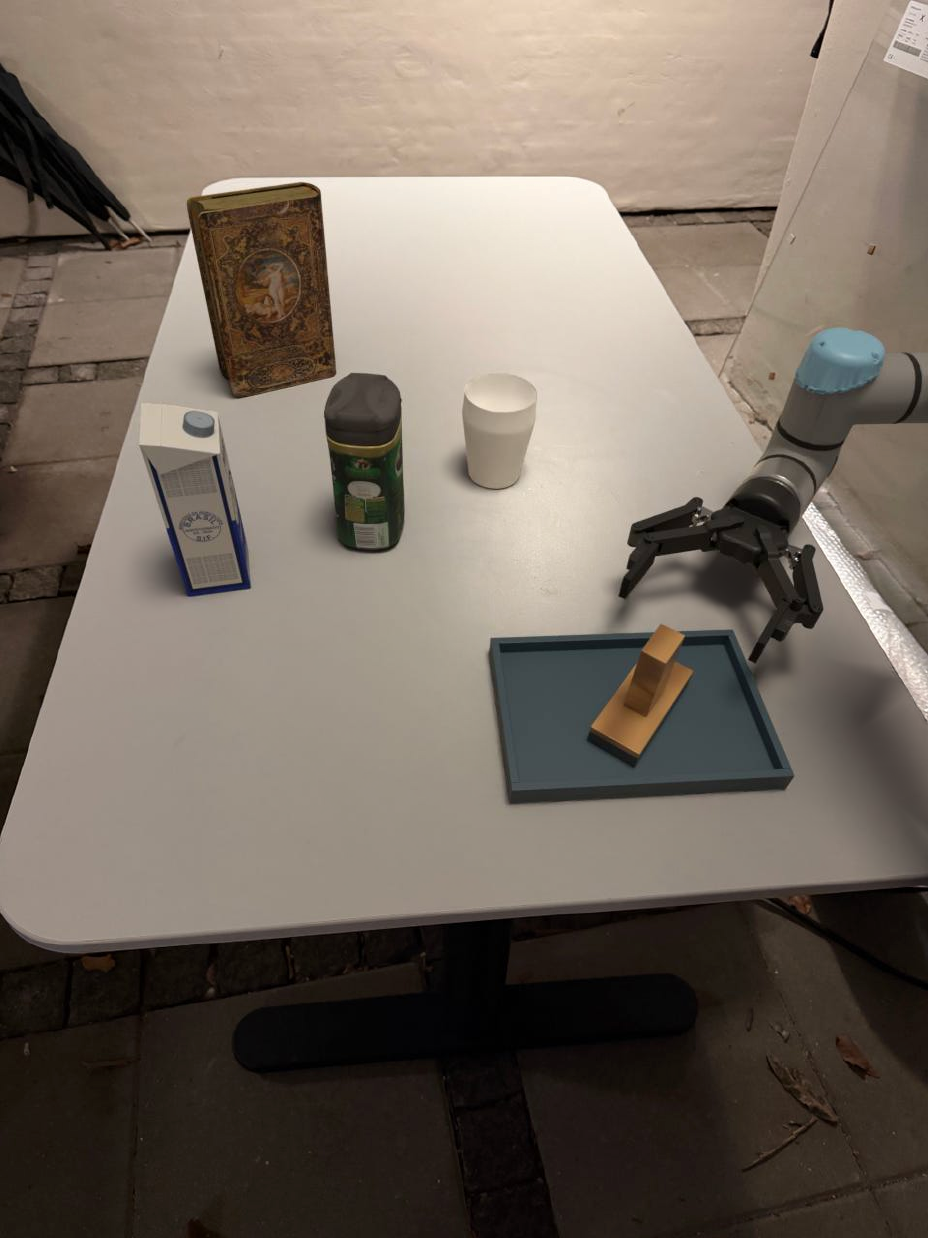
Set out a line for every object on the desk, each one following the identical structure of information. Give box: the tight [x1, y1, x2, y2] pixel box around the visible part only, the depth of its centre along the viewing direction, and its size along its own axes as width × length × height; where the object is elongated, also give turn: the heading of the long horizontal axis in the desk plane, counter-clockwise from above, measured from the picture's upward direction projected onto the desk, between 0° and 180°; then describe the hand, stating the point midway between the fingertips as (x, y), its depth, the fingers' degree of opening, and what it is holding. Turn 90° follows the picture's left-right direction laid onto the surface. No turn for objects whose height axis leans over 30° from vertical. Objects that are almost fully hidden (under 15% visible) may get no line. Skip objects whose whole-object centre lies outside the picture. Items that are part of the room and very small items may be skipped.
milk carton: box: [138, 402, 252, 598], centre depth 79 cm, size 7×7×20 cm
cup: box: [461, 372, 538, 490], centre depth 97 cm, size 9×9×12 cm
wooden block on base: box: [587, 623, 693, 767], centre depth 71 cm, size 5×12×10 cm, turn 145°
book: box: [186, 181, 337, 398], centre depth 105 cm, size 16×6×25 cm, turn 118°
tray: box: [488, 628, 795, 805], centre depth 75 cm, size 18×26×2 cm
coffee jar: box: [323, 372, 406, 551], centre depth 86 cm, size 10×8×19 cm
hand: (687, 619), depth 73 cm, fingers open, 13 cm apart
